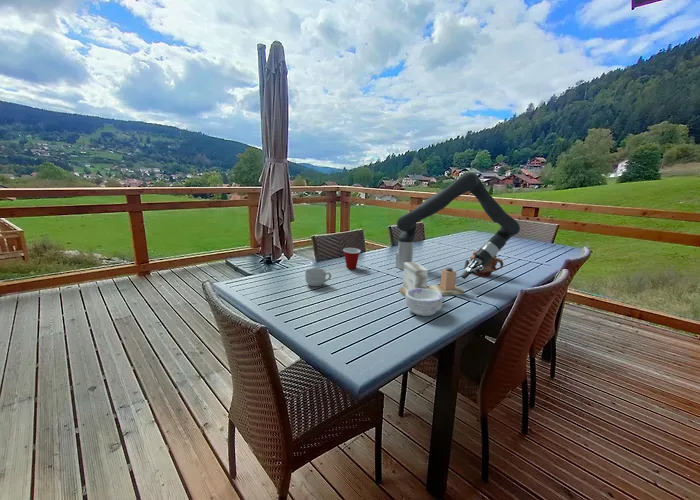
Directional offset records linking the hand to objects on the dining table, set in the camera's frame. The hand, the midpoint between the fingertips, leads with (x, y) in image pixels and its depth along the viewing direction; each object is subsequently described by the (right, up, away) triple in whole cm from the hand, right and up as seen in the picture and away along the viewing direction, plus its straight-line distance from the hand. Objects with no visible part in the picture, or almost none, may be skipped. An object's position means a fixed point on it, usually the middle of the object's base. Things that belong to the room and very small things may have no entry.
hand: (462, 277), depth 149 cm
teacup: (-73, -5, +6) cm, 73 cm away
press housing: (-16, -7, -2) cm, 18 cm away
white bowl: (-26, -12, -23) cm, 37 cm away
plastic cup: (-55, +2, +36) cm, 66 cm away
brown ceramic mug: (+22, -1, +25) cm, 34 cm away
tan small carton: (-8, -5, 0) cm, 9 cm away
